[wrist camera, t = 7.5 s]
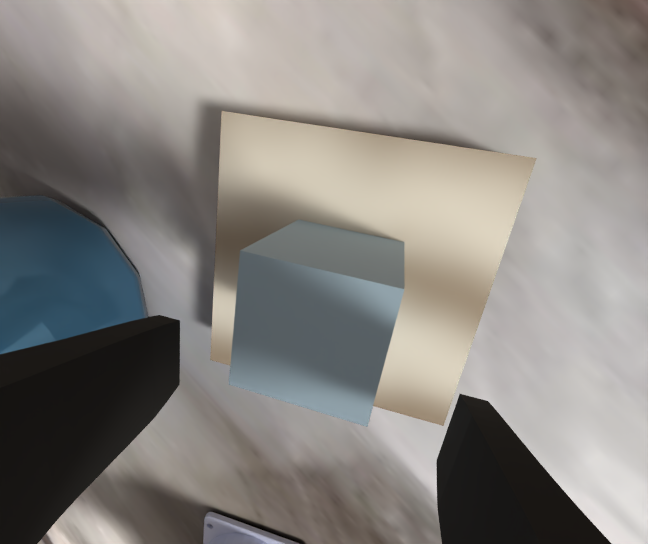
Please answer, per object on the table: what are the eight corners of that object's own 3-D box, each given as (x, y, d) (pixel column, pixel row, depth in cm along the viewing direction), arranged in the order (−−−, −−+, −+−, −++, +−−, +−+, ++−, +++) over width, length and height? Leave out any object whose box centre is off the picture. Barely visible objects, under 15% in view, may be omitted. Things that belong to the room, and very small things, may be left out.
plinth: (438, 392, 18) (443, 425, 16) (233, 337, 20) (210, 359, 18) (514, 159, 14) (536, 158, 12) (247, 118, 16) (221, 111, 14)
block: (379, 338, 15) (367, 426, 10) (285, 313, 16) (228, 384, 11) (404, 242, 14) (404, 289, 8) (298, 219, 14) (239, 250, 9)
